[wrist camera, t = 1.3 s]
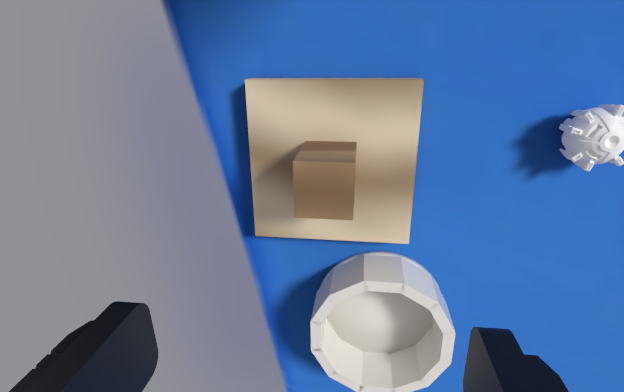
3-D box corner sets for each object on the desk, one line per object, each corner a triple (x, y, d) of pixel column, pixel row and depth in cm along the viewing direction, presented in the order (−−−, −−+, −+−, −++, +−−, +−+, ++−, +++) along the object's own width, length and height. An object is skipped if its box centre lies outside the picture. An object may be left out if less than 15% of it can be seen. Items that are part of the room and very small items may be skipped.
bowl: (317, 246, 27) (309, 277, 23) (448, 253, 26) (462, 287, 22) (318, 346, 30) (311, 388, 26) (435, 357, 29) (445, 402, 25)
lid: (250, 78, 23) (216, 86, 18) (420, 78, 22) (439, 86, 16) (259, 228, 26) (233, 272, 21) (406, 235, 25) (417, 284, 20)
